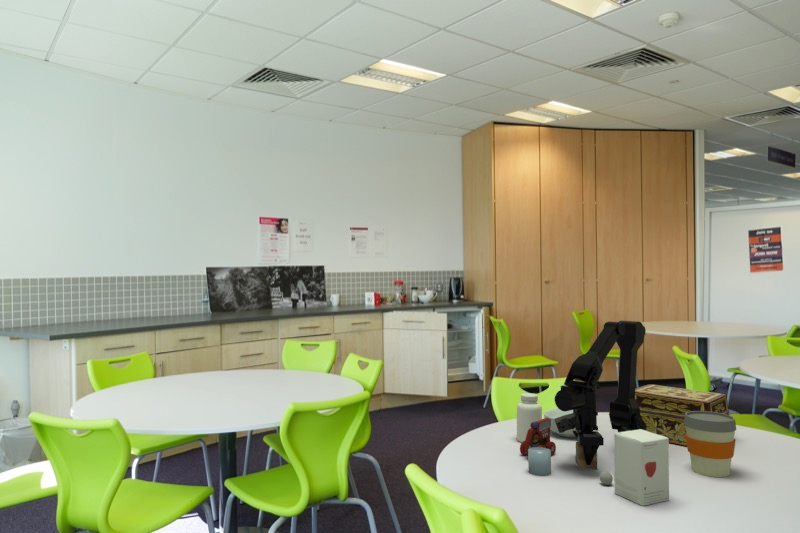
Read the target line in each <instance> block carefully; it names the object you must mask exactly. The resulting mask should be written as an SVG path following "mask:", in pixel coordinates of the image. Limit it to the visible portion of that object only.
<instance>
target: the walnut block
mask: <svg viewBox="0 0 800 533" xmlns="http://www.w3.org/2000/svg"><path fill="white" fill-rule="evenodd" d="M575 463H576V466H577V468H578V469H579V470H598V451H597V452H596V454H595V456H594V458H593V460H592V462H591V464H590V465H586V462H585V457H584V452H583V447H582V446H581V445H580V444H579V443H578V441H575Z"/></svg>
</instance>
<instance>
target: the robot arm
mask: <svg viewBox="0 0 800 533" xmlns="http://www.w3.org/2000/svg"><path fill="white" fill-rule="evenodd" d="M646 329H647V328H646V326H645V325H644V324H643V323H642V322H641V321H635V320H618V321H611V320H610V321H605V323H604V324H603V329H602V330H601V332H600V333H599V334H598V336H597V337H596V339H595V340H594V341H593V343H592V344H591V346H590V347H589V349H588V350H587V352H586V353H584V354H581V355H579V356H578V357H577V358H576V359H575V360H573V362H572V363H571V366H570V368H569V371H568V373H567V375H566V378H565V379H564V380H565V381H564V382H563V385H560V390H558V391H557V392H556V393H555V395H554V404H555V406H556V407H557V408H558V409H560V410H561V411H570V410H573V413H571V414H567V415H564V416H561V417H558V418H555V419H554V420H555V423H556V426H557V428H558V431H559V433H563V432H565V431H567V430H570V429H574V428H575V431H572V432H573V434H574V435H575V436H576V437H575V438H577V439H576V442H578V443H579V444H580V445H581V446H582V447H583V452H584V457H585V462H586V465H590V464H591V462H592V460H593V458H594V456H595V454H596V452H597V453H598V450H599V448H600V447H601V446H604V444H605V443H604V437H603V435H602V434H601V433H600V432H599V426H598V425H597V423H598V422H597V419H598V418H597V417H598V416H599V412H598V409H597V390H600V389H601V386H600V385H599V384H598V383H597V382H598V381H599V380H600V378H601V375H602V373H603V371H604V368H603V363H604V361H605V359H606V358H607V356H608V355H609V353H610V352H611V350H612V349H613V347H614V346H615V344H616V345H617V346H618V348H619V363H618V379H617V380H618V381H617V396H616V397H615V399H614V400H613V401H610V403H609V413H608V415H609V421H610V425H611V429H612V430H616V431H617V433H618V432H625V431H632V430H639V429H642V430H645V431H646V427H647V425H646V424H645V422H644V421H643V419H642V418H641V416H640V408H639V406H638V404H637V402H636V400H635V389H636V382H637V364H638V362H637V361H638V351H639V349H640V348H641V347H642V345H643V344H644V342H645V336H646V333H647V332H646Z"/></svg>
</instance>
